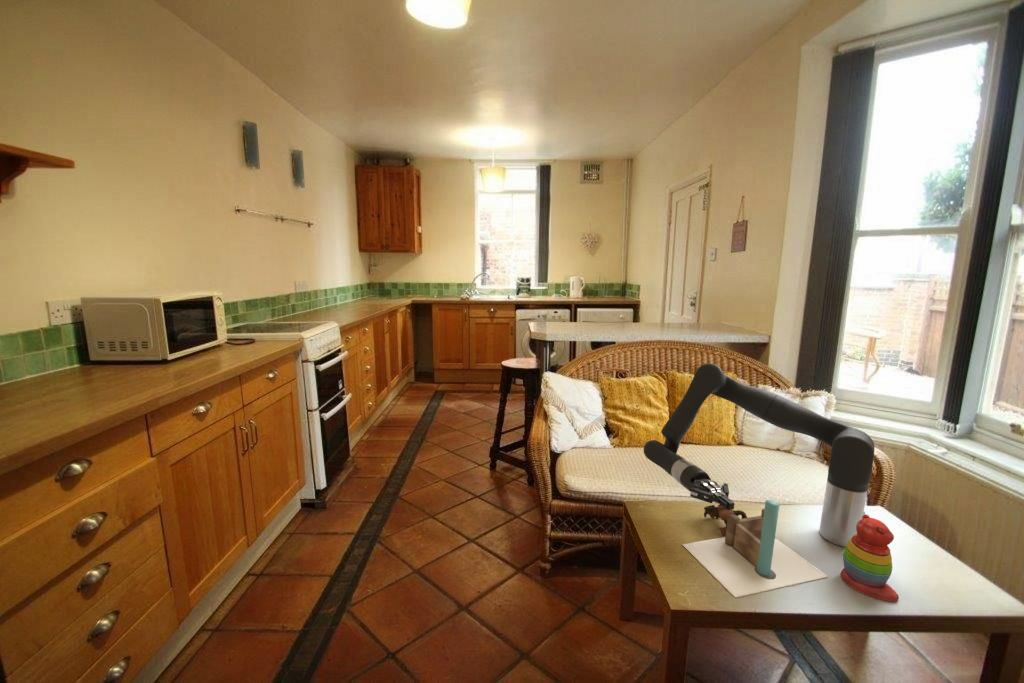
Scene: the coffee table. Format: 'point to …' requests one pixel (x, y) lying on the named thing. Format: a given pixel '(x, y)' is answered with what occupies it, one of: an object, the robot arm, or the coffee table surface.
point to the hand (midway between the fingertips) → (731, 506)
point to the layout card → (752, 567)
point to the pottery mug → (722, 515)
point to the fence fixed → (749, 523)
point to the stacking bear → (869, 560)
